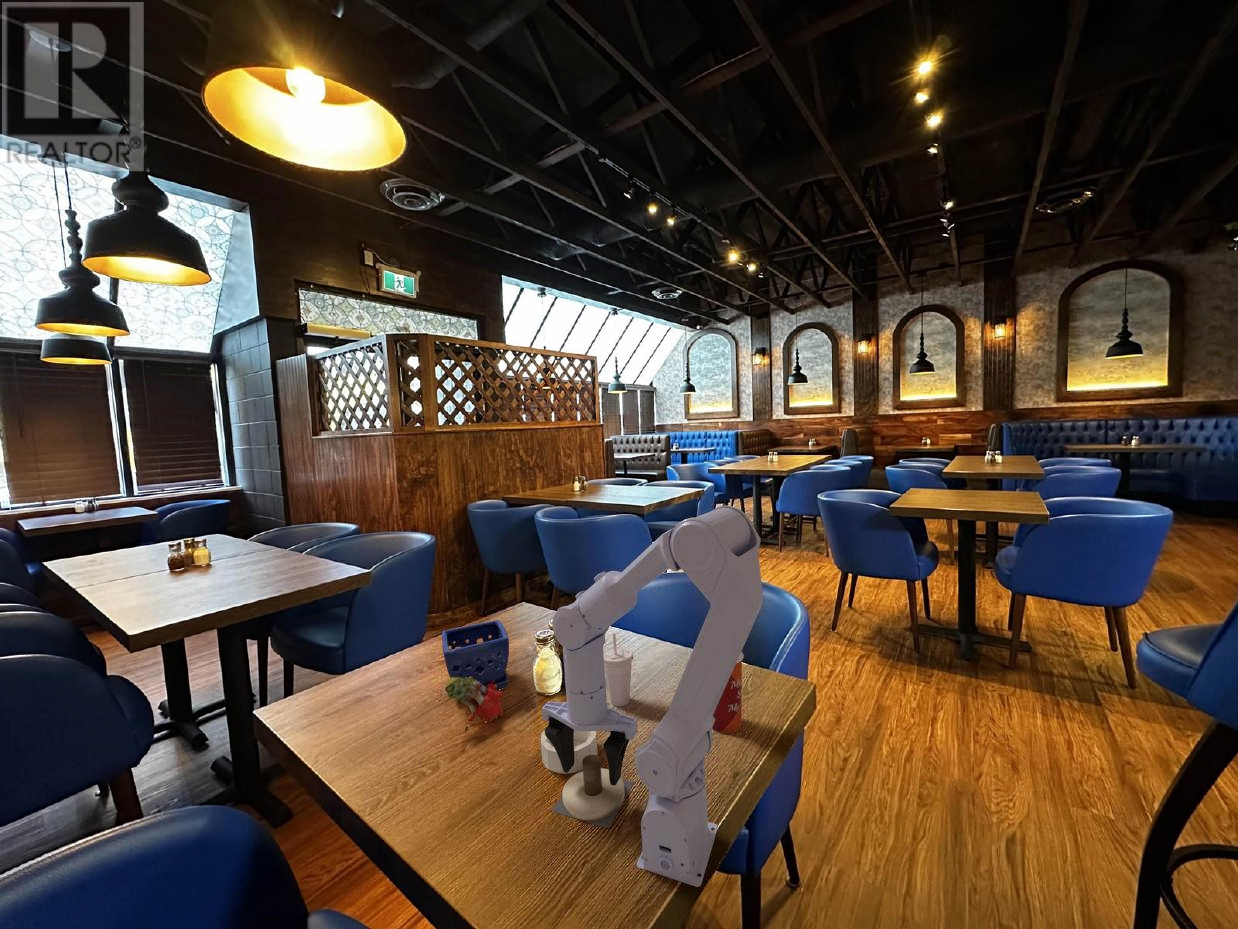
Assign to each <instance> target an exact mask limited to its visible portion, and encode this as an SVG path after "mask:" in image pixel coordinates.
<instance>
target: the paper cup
mask: <svg viewBox="0 0 1238 929" xmlns="http://www.w3.org/2000/svg"><path fill="white" fill-rule="evenodd" d="M744 657H745V656H744V653H743V650H742V651H741V653H740V656H739V658H738V660H737V662H736V665H735V667H734V669H733V671H732V673H731V676H730V678H729V680H728V682H727V685H726V687H725V689H724V691H723V694H722V696H721V698H720V700H719V703H718V705H717V707H716V709H715V711H714V714H713V717H714V718H715V722H714V724H713V727H712V731H714V732H717V733H721V734H726V735H727V734H732V733H733V734H734V733H736V732H738V731H739V730H740V729H741V726H742V703H743V702H742V696H743V695H742V689H743V686H742V681H743V679H742V678H743V674H742V672H743V664H742V663H743V660H744Z"/></svg>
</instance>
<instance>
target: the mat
mask: <svg viewBox="0 0 1238 929" xmlns="http://www.w3.org/2000/svg"><path fill="white" fill-rule="evenodd" d="M581 771H583V769H582V770H580V771H579V772H581ZM621 779H622V780H623V783H624V791H625V797H624V801H623V803H622V805H623V804H624V802H625V800H626V799H627V797H628V794H629V793H630V791H631V789H632V788H633V786H634V785H635V782H634V781H632V780H631V781H630V780H628V779H623V778H621ZM622 805H621V806H620V808H619V809H618V810H617V811H616V812H614V813H613V814H612V815H610V816H608V817H606V818H603V819H600V820H593V821H586V820H580V819H577V818H575V817H573V816H571V815H570V814H569V813H568V812H567V811H566V810H565V808H564V805H563V796H562V795H561V796H560V798H559V799H558V800H557V802H556V803H555V804H554V805H553V807H552V809H551V810H550V811H551V812H552V813H557V814H560V815H562V816H566V817H569V818H572V819H576V820H579V821H583V822H585V823H588V824H592V825H595V826H599V827H602V828H606V829H610V828H611V827H610V826H611V825H612V823H613V822H614V820H615V818H616V816H617V815H618V813H619V810H621V807H622Z"/></svg>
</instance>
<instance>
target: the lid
mask: <svg viewBox="0 0 1238 929" xmlns="http://www.w3.org/2000/svg"><path fill="white" fill-rule="evenodd" d="M582 764H583V771H581V772H580V771H578V772H576V774H574V775H572V776H571V777H570V778H568V779H567V781H566V783H565V784H564V785H563V789H562V791H561V792H562V794H561V796H563V805H564V808H565V810H566V811H567V812H568V813H569V814H570V815H571V816H573V817H575V818H577V819H576V820H579V819H580V820H579V821H582V820H586V821H593V820H600V819H603V818H606V817H608V816H610V815H612V814H613V813H614V812H616V811H617V810H618V809H619V808H620V809H621V807H622V806H623V804H624V802H625V800H624V797H625V791H624V783H623V780H624V779H623V778H622V776H621V777H620V779H619V781H618V782H617V784H616V785H615V786H614V785H611V784H610V779H609V768H602V765H601V764H602V763H601V757H600V756H598V754H597V755H588V756H586V757H585V758H584V759H583V761H582ZM622 779H623V780H622ZM623 801H624V802H623ZM622 803H623V804H622ZM620 806H621V807H620ZM620 809H619V810H620ZM575 818H574V819H575Z"/></svg>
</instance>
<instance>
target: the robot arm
mask: <svg viewBox="0 0 1238 929" xmlns="http://www.w3.org/2000/svg"><path fill="white" fill-rule="evenodd" d="M755 528H756V527H755V526H754V525H753V523H752V521H751V519H750V518H749V516H748V515H747V513H745V512H744V511H743V510H741V509H740V508H738V507H735V506H732V505H720V506H718V507H715V508H714V509H712V510H710V511H709V512H706V513H703V514H700V515H698V516H696V517H690V518H686V519H683V520H682V521H680V522H679V523H678V524H676V526H675V527H673V528H671V529H669V530H666V532H664V533H662V534H661V535H660V536H659V537H658V538H657V539H655V541H653V542H652V543H651V544H650V545H649V546H648V547H647V548H646V549H645V550H644V551H643V552H641V554H640V555H638V556H637V558H635V559H634V560H633V561H632V562H631V563H630V564H629V565H627V567H626V568H625V569H624V570H623V571H619V570H618V571H617V570H610V571H608V572H606V571H602V572H600V573H598V574H596V576H594V578H593V581H594V584H592V585H591V586H590V587H588V589H587V590H582V591H579V592H578V593H577V594H576V595H575V599H576V600H575V601H574V602H573V603H571V604H568V605H565V606H564V605H563V606H561V607H559V608H557V610H556V612H555V613H554V615H553V618H552V622H551V623H552V624H551V625H552V626H551V627H552V632H553V634H554V635H553V636H554V637H555V639H556V640H557V642H558V643H559V644H560V645H561V646H562V654H563V655H562V656H563V667H564V681H565V682H564V683H565V696H566V702H565V701H562V702H561V701H560V702H559V701H558V702H557V701H547V703H545V704H544V705H543V706H542V707H541V717H542V718H541V720H542V721H543V722H544V721H545V722H547V723H548V725H547V726H546V728H544V730H545V736H546V737H547V738H548V739H549V741H550V742H551V743H552V745H553V747H554V748H555V750H556V752H557V755H558V757H559V759H560V762H561V765H562V768H563V771H564V772H565V773H568V772H569V770H570V769H571V768H572V766H573V765H574V760H575V754H574V730H578V731H596V732H608V733H609V734H610V735H609V736H608V737H607V739H606V740H605V741H604V742H603V744H602V745H603V746H602V747H603V750H604V753H605V756H606V758H607V764H608V770H609V779H610V784H611V785H614V786H615V785H616V784H617V782H618V781H619V779H620V777H621V778H622V768H623V764H624V763H623V762H624V759H625V754H626V750H627V748H628V745H629V742H630V741H633V740H634V738H635V736H636V735H637V733H638V720H637V718H633V717H630V716H628V715H626V714H623V713H621V712H619V711H617V710H615V709H613V708H611V707H609V706H608V700H607V686H606V684H607V681H606V675H605V668H604V653H603V652H604V645H605V644H606V633H607V632H608V631H609V629H610V627H611V626H612V625H613V624H614V623H616V622H617V621H618V620H620V619H621V618H622V617H624V616H625V615H626V614H628V613H629V612H630V611H632V610H633V609H635V607H636V605H637V603H638V592H640V590H642V589H643V588H645V587H646V586H647V585H649V584H650V583H652V582H653V581H654V580H656V579H657V578H658V577H660V576H661V575H663V574H664V573H666V572H667V571H668V570H671V571H672V572H679V571H680V570H682V571H683V573H684V574H685V575H686V576H687V578H689V579H690V581H691V582H692V584H694V586H696V588H697V589H698V590H699V592H701V594H702V595H703V596H704V597H705V599H706V600H707V601H708V602H709V604H710V606H709V609H708V612H707V614H706V616H705V619H704V621H703V624H702V627H701V629H700V632H699V634H698V636H697V638H696V641H695V643H694V646H693V649H692V651H691V653H690V656H689V659H688V661H687V663H686V665H685V668H684V671H683V672H682V675H681V678H680V681H679V683H678V685H677V688H676V690H675V693H674V695H673V696H672V697H673V698H672V700H671V702H670V705H669V707H668V710H667V711H666V713H665V714H664V715H663V717H662V718H661V719H660V721H659V723H658V724H657V725H656V727H655V729H654V730H653V732H652V734H651V736H650V738H649V739H648V740H647V741H646V742H645V743H643V744H642V745H640V746H639V748H638V749H637V751H636V752H635V757H634V762H635V764H634V765H635V769H636V772H637V774H638V776H639V779H640V780H641V781H642V784H644V786H645V787H646V789H647V790H648V801H647V805H646V808H645V811H644V813H643V815H642V818H641V821H640V823H641V824H640V828H641V829H640V830H641V845H642V846H641V847H642V850H641V854H640V855H639V857H638V860H637V862H636V867H637V868H638V869H642V870H645V871H649V872H651V873H654V874H657V875H660V876H663V877H666V878H668V879H671V880H675V881H677V882H681V883H684V884H686V885H687V884H688V885H690V886H694V887H696V888H698V887H700V886H701V885H702V882H703V879H704V876H705V872H706V869H707V866H708V862H709V859H710V855H711V851H712V848H713V845H714V842H715V838H716V835H717V832H718V824H717V823H714V822H710V821H709V820H708V819H709V818H708V801H707V800H708V799H707V783H706V769H705V768H706V760H705V758H706V756H707V755H708V753H710V751H711V750H712V748H713V729H712V727H713V724H714V722H715V718H714V717H713V714H714V711H715V709H716V707H717V705H718V703H719V700H720V698H721V696H722V694H723V691H724V689H725V687H726V685H727V682H728V680H729V678H730V676H731V673H732V671H733V669H734V667H735V665H736V662H737V660H738V658H739V656H740V653H741V651H742V652H743V649H744V646H745V644H746V642H747V639H748V638H749V635H750V633H751V631H752V629H753V626H754V624H755V622H756V619H757V617H758V615H759V613H760V611H761V609H762V606H763V603H764V591H763V590H764V589H763V582H762V577H761V576H762V575H761V566H760V560H759V550H760V545H761V537H760V536H759V534H758V532H757V530H756V529H755ZM568 774H569V773H568ZM712 829H714V830H712ZM699 874H700V875H701V876H699Z"/></svg>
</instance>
